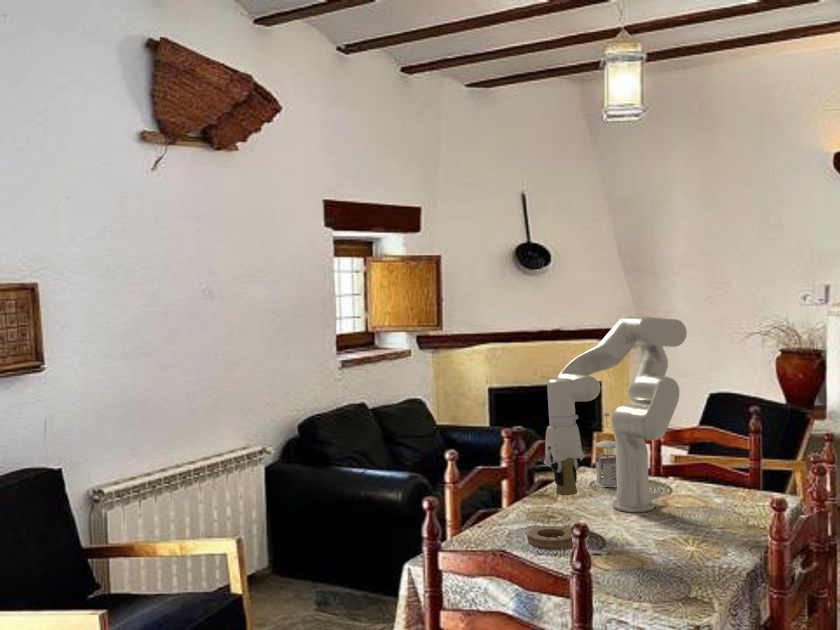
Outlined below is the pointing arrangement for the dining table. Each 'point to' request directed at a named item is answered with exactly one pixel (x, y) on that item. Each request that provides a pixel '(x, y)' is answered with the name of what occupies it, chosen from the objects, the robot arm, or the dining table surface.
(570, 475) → the cork
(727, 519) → the dining table surface
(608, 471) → the french press
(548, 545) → the bead ring
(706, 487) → the dining table surface
